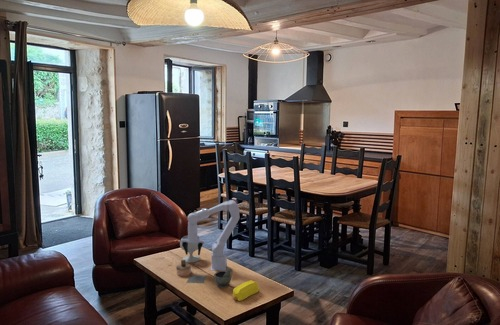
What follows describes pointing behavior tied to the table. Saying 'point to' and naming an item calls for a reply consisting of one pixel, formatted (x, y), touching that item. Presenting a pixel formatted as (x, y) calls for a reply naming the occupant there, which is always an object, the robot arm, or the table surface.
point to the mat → (196, 279)
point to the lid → (183, 265)
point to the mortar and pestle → (223, 278)
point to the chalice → (191, 251)
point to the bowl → (183, 272)
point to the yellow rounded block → (245, 290)
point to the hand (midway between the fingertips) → (192, 254)
